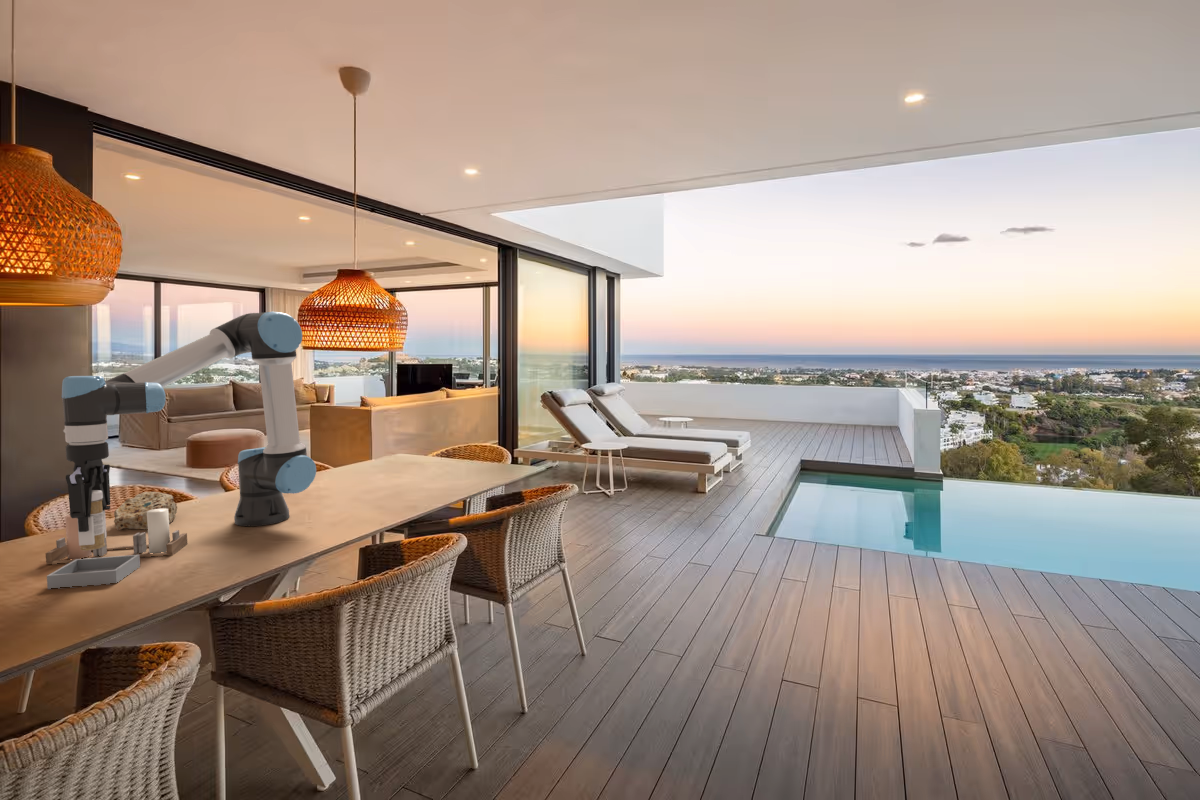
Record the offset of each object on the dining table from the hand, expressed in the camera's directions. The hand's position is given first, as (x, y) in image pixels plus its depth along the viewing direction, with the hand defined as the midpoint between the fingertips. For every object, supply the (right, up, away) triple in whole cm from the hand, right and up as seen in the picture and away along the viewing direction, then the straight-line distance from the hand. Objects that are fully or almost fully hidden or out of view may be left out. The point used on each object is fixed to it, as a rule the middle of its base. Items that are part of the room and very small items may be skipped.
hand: (93, 541), depth 141 cm
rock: (-22, -6, +47) cm, 52 cm away
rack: (-7, -7, +17) cm, 20 cm away
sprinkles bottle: (0, -2, 0) cm, 2 cm away
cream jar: (+1, -7, +20) cm, 21 cm away
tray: (0, -9, +1) cm, 9 cm away
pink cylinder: (-16, -8, +15) cm, 23 cm away
